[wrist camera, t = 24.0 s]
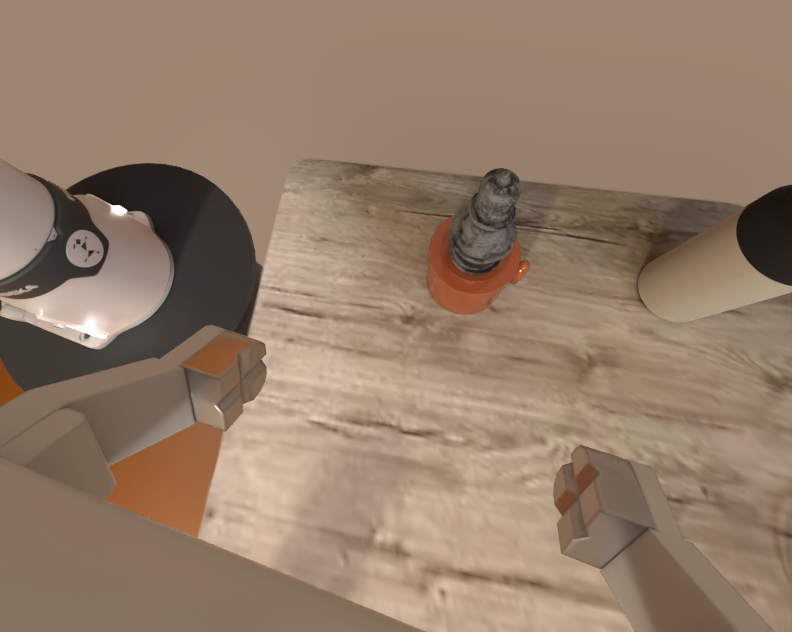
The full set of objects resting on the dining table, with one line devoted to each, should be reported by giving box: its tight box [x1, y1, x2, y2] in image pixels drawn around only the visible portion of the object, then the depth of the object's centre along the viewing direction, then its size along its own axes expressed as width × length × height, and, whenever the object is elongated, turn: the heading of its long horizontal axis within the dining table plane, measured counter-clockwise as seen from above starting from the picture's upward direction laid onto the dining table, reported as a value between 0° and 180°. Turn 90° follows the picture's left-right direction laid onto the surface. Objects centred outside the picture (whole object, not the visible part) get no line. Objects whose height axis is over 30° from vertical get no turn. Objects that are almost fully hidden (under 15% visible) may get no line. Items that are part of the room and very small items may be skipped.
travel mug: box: [638, 185, 792, 323], centre depth 32 cm, size 8×8×18 cm
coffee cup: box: [427, 215, 530, 314], centre depth 38 cm, size 10×9×9 cm
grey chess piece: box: [449, 168, 521, 275], centre depth 28 cm, size 6×6×12 cm
